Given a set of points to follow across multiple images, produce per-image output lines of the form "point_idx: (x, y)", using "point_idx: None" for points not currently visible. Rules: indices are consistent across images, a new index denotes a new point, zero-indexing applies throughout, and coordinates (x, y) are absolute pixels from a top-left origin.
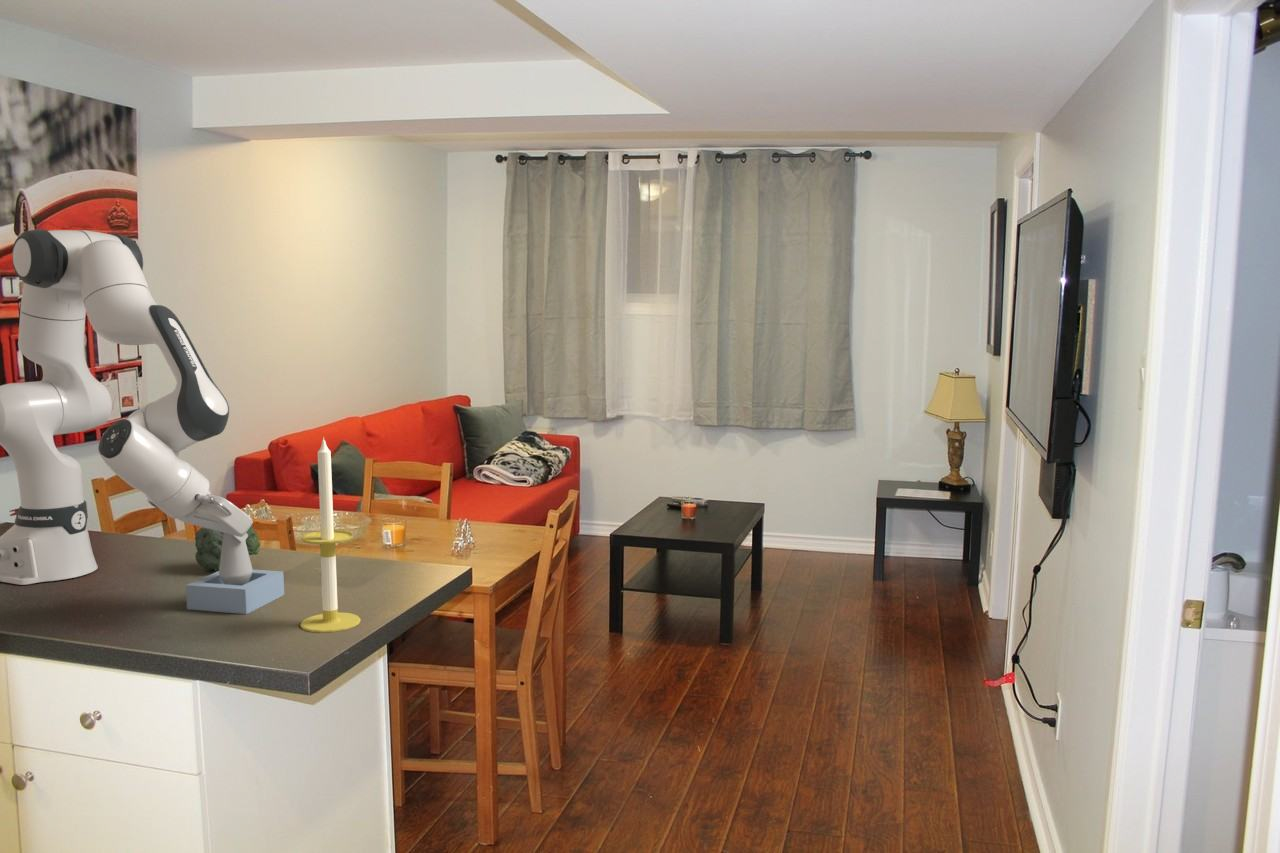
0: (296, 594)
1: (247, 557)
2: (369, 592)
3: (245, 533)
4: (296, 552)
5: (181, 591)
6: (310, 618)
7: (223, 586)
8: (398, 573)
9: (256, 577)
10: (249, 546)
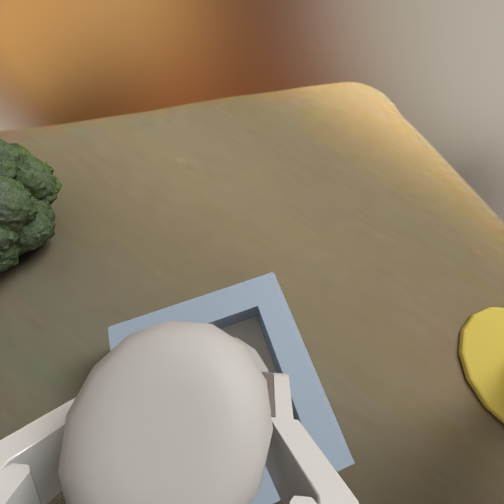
0: (284, 274)
1: (260, 369)
2: (375, 203)
3: (289, 391)
4: (77, 123)
5: (25, 408)
6: (483, 382)
7: (268, 486)
8: (316, 125)
9: (225, 319)
10: (41, 190)
